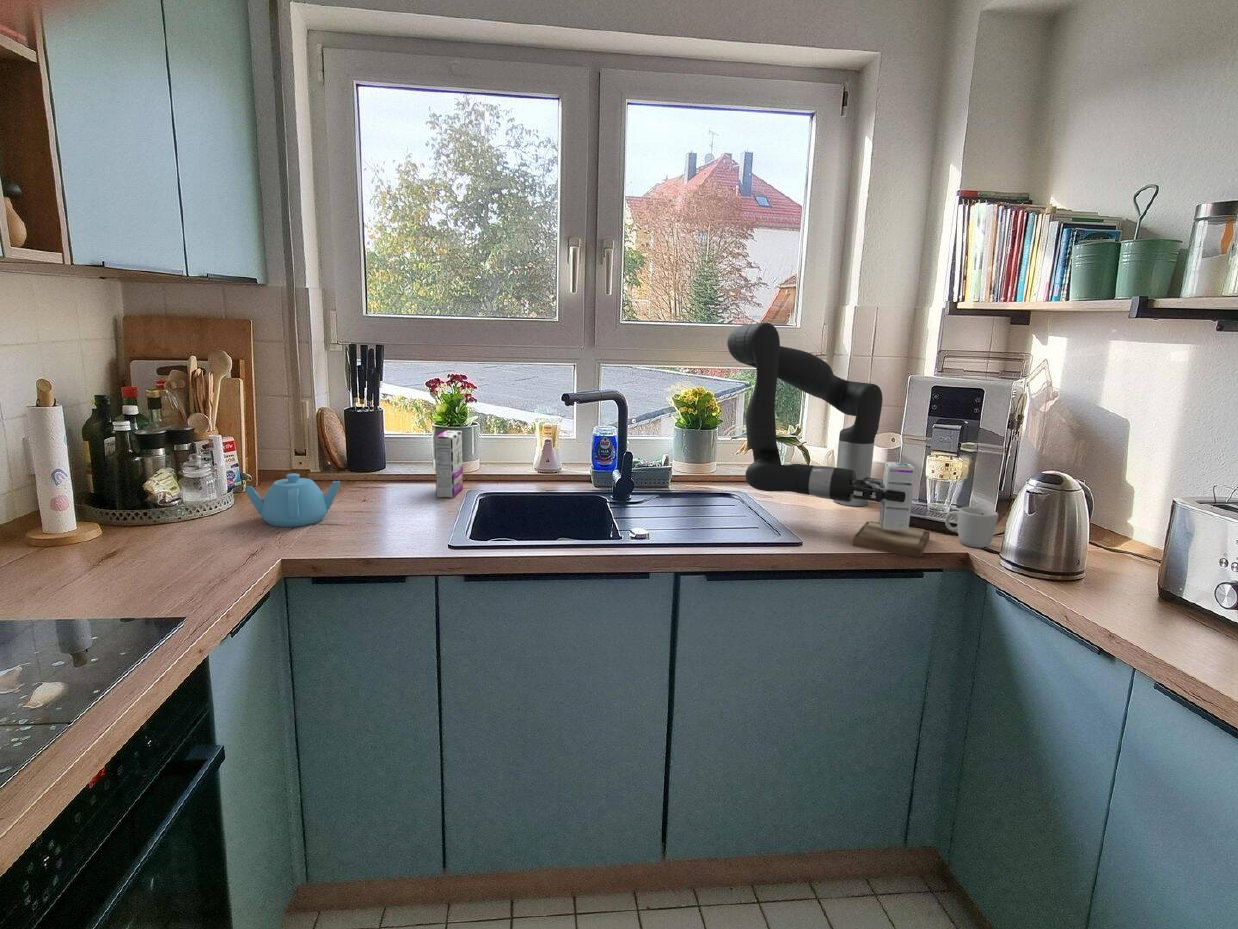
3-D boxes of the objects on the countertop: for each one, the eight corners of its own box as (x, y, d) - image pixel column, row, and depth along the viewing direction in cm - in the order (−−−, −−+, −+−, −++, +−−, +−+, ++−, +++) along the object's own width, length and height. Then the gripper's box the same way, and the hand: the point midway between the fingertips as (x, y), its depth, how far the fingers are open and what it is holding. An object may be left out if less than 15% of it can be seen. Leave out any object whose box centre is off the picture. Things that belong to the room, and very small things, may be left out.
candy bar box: (445, 488, 198) (444, 429, 195) (463, 488, 198) (463, 430, 195) (434, 497, 187) (433, 436, 184) (453, 498, 187) (453, 436, 184)
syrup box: (909, 532, 157) (917, 467, 154) (880, 529, 158) (888, 465, 155) (904, 525, 162) (912, 462, 159) (877, 522, 163) (884, 460, 160)
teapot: (241, 524, 158) (238, 476, 156) (293, 508, 172) (291, 465, 170) (295, 533, 153) (292, 484, 151) (344, 516, 167) (342, 471, 165)
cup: (937, 541, 163) (941, 508, 161) (949, 535, 169) (953, 502, 167) (987, 553, 156) (992, 517, 154) (998, 545, 162) (1003, 511, 160)
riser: (866, 529, 171) (867, 519, 170) (928, 539, 164) (930, 529, 164) (852, 546, 157) (853, 535, 157) (920, 557, 151) (921, 546, 150)
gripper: (826, 472, 158) (905, 483, 151) (840, 462, 171) (914, 472, 163) (822, 505, 160) (900, 517, 152) (837, 493, 172) (910, 504, 164)
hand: (907, 494), depth 157 cm, fingers closed on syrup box, 7 cm apart
